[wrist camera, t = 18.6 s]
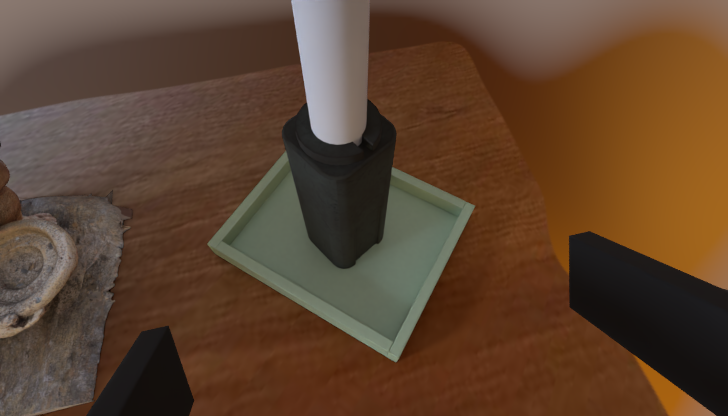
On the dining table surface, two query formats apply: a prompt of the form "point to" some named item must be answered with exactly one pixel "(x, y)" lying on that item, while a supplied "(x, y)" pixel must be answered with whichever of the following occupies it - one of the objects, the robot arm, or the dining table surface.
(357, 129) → the candle
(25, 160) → the dining table surface
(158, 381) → the robot arm
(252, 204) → the tray
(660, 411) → the dining table surface
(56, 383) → the cherub figurine
